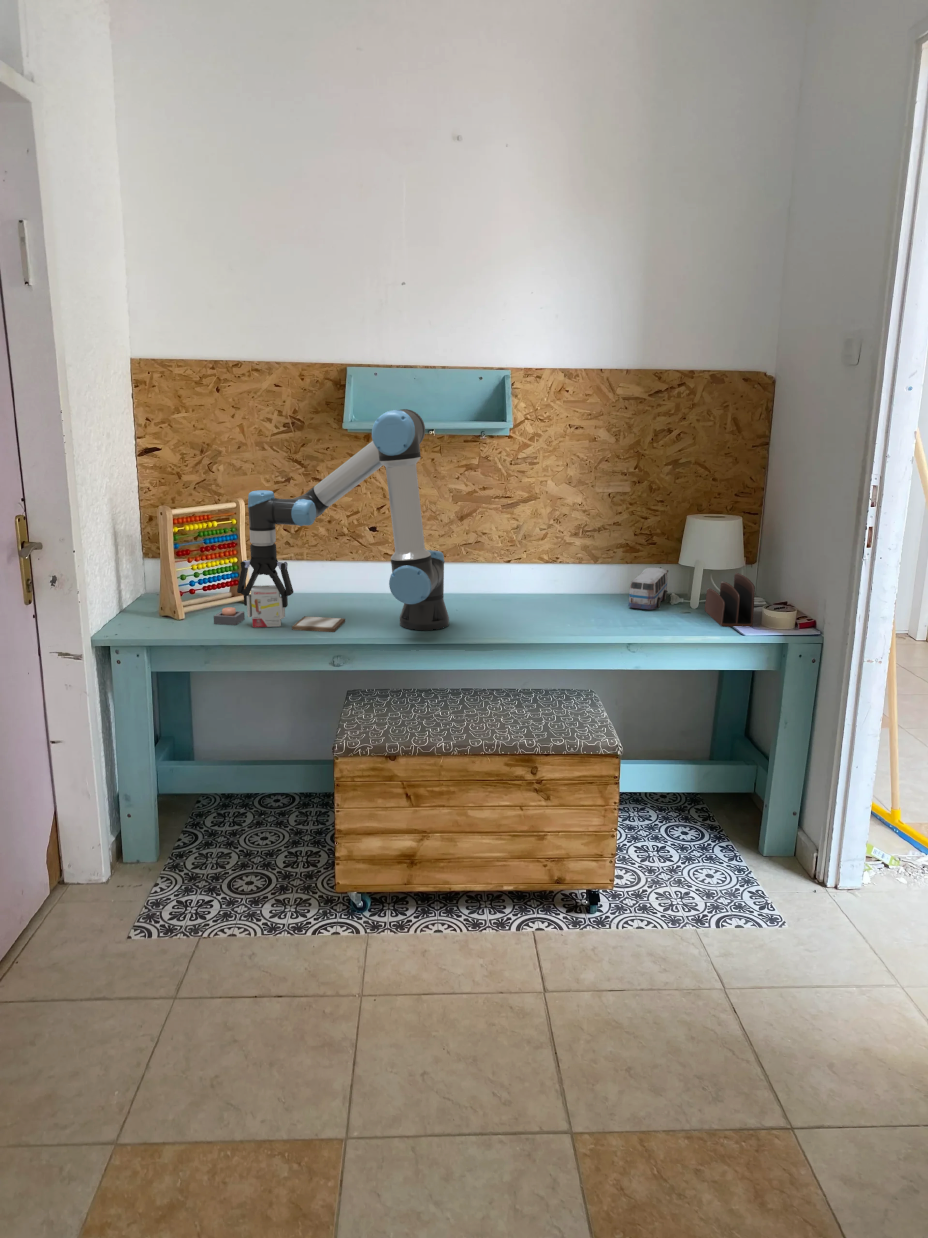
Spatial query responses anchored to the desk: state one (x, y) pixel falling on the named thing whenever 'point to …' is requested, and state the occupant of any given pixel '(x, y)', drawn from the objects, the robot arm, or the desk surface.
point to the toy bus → (648, 589)
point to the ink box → (265, 606)
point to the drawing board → (318, 624)
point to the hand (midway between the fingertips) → (266, 616)
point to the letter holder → (732, 603)
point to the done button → (229, 611)
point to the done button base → (229, 618)
